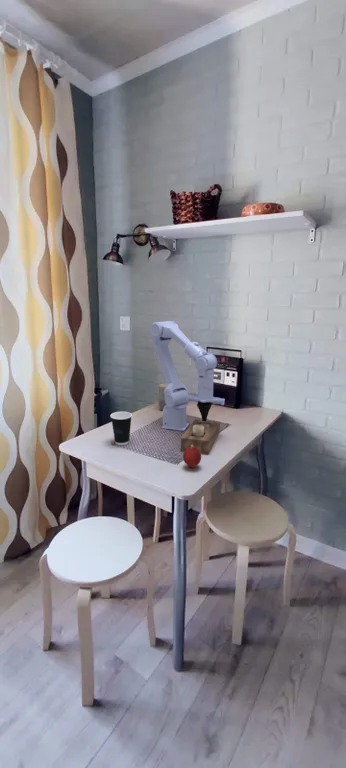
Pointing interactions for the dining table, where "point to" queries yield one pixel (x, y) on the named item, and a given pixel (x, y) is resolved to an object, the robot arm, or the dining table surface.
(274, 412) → the dining table surface
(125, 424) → the dixie cup
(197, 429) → the peg front
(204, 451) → the walnut block
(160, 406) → the carving
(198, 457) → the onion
